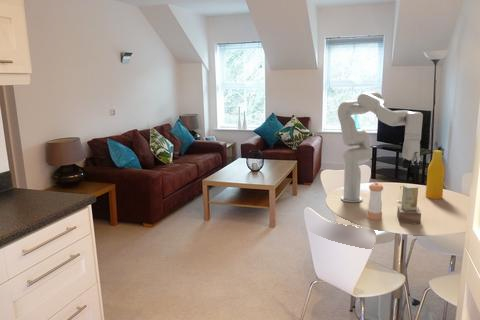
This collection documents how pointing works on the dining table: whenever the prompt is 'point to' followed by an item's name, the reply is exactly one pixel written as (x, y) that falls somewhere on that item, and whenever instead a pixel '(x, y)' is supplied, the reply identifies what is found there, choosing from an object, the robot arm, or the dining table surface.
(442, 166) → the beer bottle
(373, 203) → the pepper shaker
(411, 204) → the skincare box
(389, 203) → the dining table surface
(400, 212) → the walnut block
